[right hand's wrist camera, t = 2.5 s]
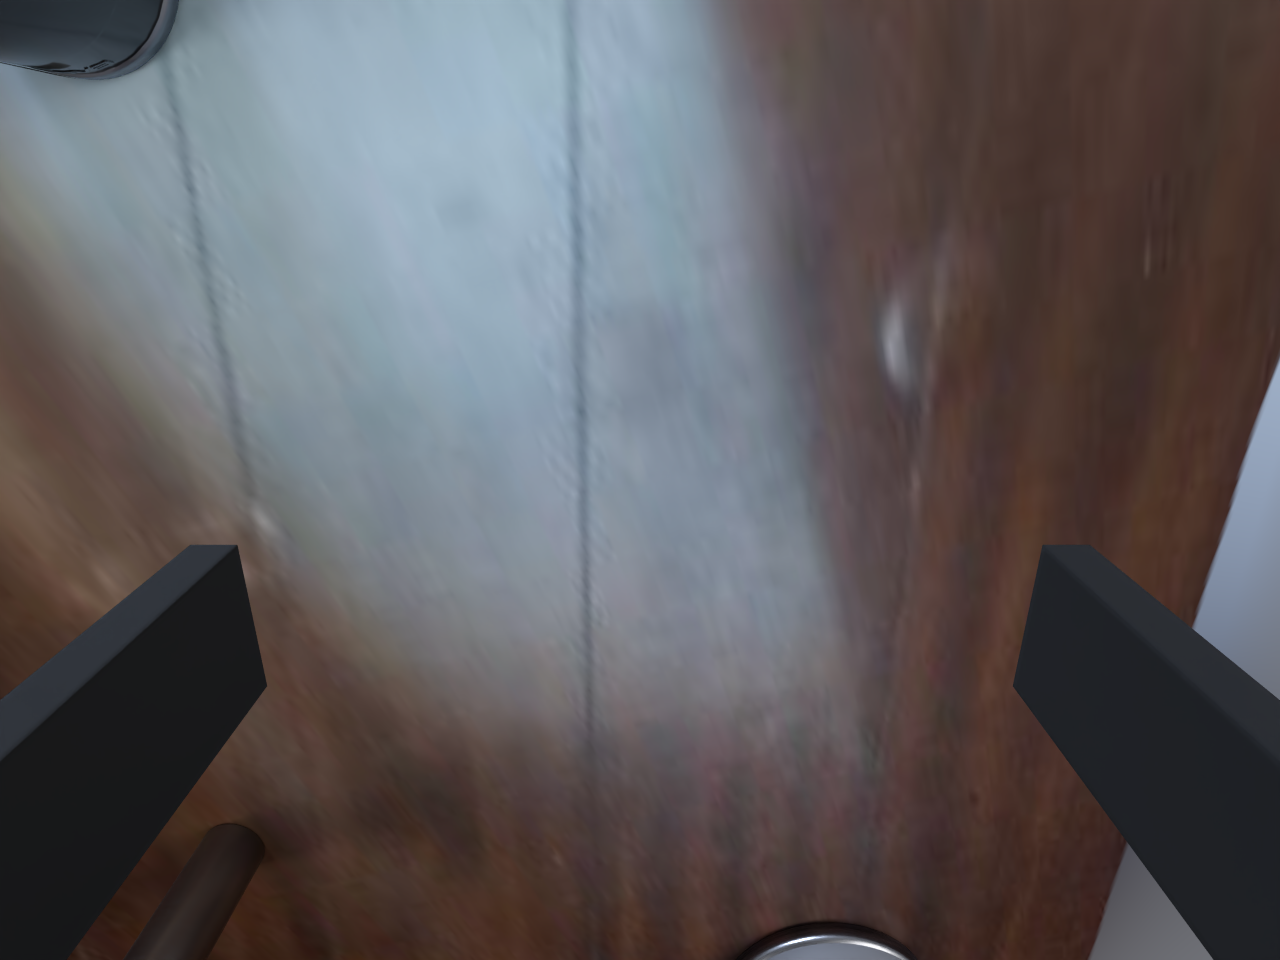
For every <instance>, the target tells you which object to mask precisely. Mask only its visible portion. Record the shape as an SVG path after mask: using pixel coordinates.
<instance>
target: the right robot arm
mask: <svg viewBox="0 0 1280 960" xmlns="http://www.w3.org/2000/svg"><path fill="white" fill-rule="evenodd" d="M266 687H267V683H266V678H265V674H264V669H263V664H262V659H261V655H260V650H259V645H258V641H257V636H256V631H255V626H254V622H253V617H252V612H251V607H250V603H249V598H248V593H247V588H246V584H245V579H244V574H243V569H242V565H241V560H240V555H239V550H238V546H237V545H190V546H188V547H187V548H186V549H185V550H184V551H182V552H181V553H180V554H179V555H177V556H176V557H175V558H174V559H173V560H171V561H170V562H169V563H168V564H166V565H165V566H164V567H163V568H162V569H160V570H159V571H158V572H157V573H155V574H154V575H153V576H152V577H151V578H149V579H148V580H147V581H146V582H144V583H143V584H142V585H141V586H139V587H138V588H137V589H136V590H135V591H133V592H132V593H131V594H130V595H128V596H127V597H126V598H125V599H124V600H122V601H121V602H120V603H119V604H117V605H116V606H115V607H114V608H113V609H111V610H110V611H109V612H108V613H106V614H105V615H104V616H103V617H102V618H100V619H99V620H98V621H97V622H95V623H94V624H93V625H92V626H91V627H89V628H88V629H87V630H86V631H84V632H83V633H82V634H81V635H80V636H78V637H77V638H76V639H75V640H73V641H72V642H71V643H70V644H69V645H67V646H66V647H65V648H64V649H62V650H61V651H60V652H59V653H57V654H56V655H55V656H54V657H53V658H51V659H50V660H49V661H48V662H46V663H45V664H44V665H43V666H42V667H40V668H39V669H38V670H37V671H35V672H34V673H33V674H32V675H31V676H29V677H28V678H27V679H26V680H24V681H23V682H22V683H21V684H20V685H18V686H17V687H16V688H15V689H13V690H12V691H11V692H10V693H9V694H7V695H6V696H5V697H4V698H2V699H1V700H0V960H67V958H68V957H69V955H70V954H71V953H72V951H73V950H74V949H75V947H76V946H77V945H78V943H79V942H80V940H81V939H82V938H83V936H84V935H85V934H86V932H87V931H88V930H89V928H90V927H91V925H92V924H93V923H94V921H95V920H96V919H97V917H98V916H99V915H100V913H101V912H102V910H103V909H104V908H105V906H106V905H107V904H108V902H109V901H110V900H111V898H112V897H113V895H114V894H115V893H116V891H117V890H118V889H119V887H120V886H121V885H122V883H123V882H124V880H125V879H126V878H127V876H128V875H129V874H130V872H131V871H132V870H133V868H134V867H135V865H136V864H137V863H138V861H139V860H140V859H141V857H142V856H143V855H144V853H145V852H146V850H147V849H148V848H149V846H150V845H151V844H152V842H153V841H154V840H155V838H156V837H157V835H158V834H159V833H160V831H161V830H162V829H163V827H164V826H165V825H166V823H167V822H168V820H169V819H170V818H171V816H172V815H173V814H174V812H175V811H176V810H177V808H178V807H179V805H180V804H181V803H182V801H183V800H184V799H185V797H186V796H187V795H188V793H189V792H190V790H191V789H192V788H193V786H194V785H195V784H196V782H197V781H198V780H199V778H200V777H201V775H202V774H203V773H204V771H205V770H206V769H207V767H208V766H209V765H210V763H211V762H212V760H213V759H214V758H215V756H216V755H217V754H218V752H219V751H220V750H221V748H222V747H223V745H224V744H225V743H226V741H227V740H228V739H229V737H230V736H231V735H232V733H233V732H234V730H235V729H236V728H237V726H238V725H239V724H240V722H241V721H242V720H243V718H244V717H245V715H246V714H247V713H248V711H249V710H250V709H251V707H252V706H253V705H254V703H255V702H256V700H257V699H258V698H259V696H260V695H261V694H262V692H263V691H264V690H265V688H266ZM1013 687H1014V688H1015V690H1016V691H1017V692H1018V694H1019V695H1020V696H1021V698H1022V699H1023V700H1024V702H1025V703H1026V705H1027V706H1028V707H1029V709H1030V710H1031V711H1032V713H1033V714H1034V715H1035V717H1036V718H1037V720H1038V721H1039V722H1040V724H1041V725H1042V726H1043V728H1044V729H1045V730H1046V732H1047V733H1048V735H1049V736H1050V737H1051V739H1052V740H1053V741H1054V743H1055V744H1056V745H1057V747H1058V748H1059V750H1060V751H1061V752H1062V754H1063V755H1064V756H1065V758H1066V759H1067V760H1068V762H1069V763H1070V765H1071V766H1072V767H1073V769H1074V770H1075V771H1076V773H1077V774H1078V775H1079V777H1080V778H1081V780H1082V781H1083V782H1084V784H1085V785H1086V786H1087V788H1088V789H1089V790H1090V792H1091V793H1092V795H1093V796H1094V797H1095V799H1096V800H1097V801H1098V803H1099V804H1100V805H1101V807H1102V808H1103V810H1104V811H1105V812H1106V814H1107V815H1108V816H1109V818H1110V819H1111V820H1112V822H1113V823H1114V825H1115V826H1116V827H1117V829H1118V830H1119V831H1120V833H1121V834H1122V835H1123V837H1124V838H1125V840H1126V841H1127V842H1128V844H1129V845H1130V846H1131V848H1132V849H1133V850H1134V852H1135V853H1136V855H1137V856H1138V857H1139V859H1140V860H1141V861H1142V863H1143V864H1144V865H1145V867H1146V868H1147V870H1148V871H1149V872H1150V874H1151V875H1152V876H1153V878H1154V879H1155V880H1156V882H1157V883H1158V884H1159V886H1160V887H1161V889H1162V890H1163V891H1164V893H1165V894H1166V895H1167V897H1168V898H1169V900H1170V901H1171V902H1172V904H1173V905H1174V906H1175V908H1176V909H1177V910H1178V912H1179V913H1180V915H1181V916H1182V917H1183V919H1184V920H1185V921H1186V923H1187V924H1188V925H1189V927H1190V928H1191V930H1192V931H1193V932H1194V933H1195V935H1196V936H1197V938H1198V939H1199V940H1200V942H1201V943H1202V945H1203V946H1204V947H1205V949H1206V950H1207V951H1208V953H1209V954H1210V955H1211V957H1212V958H1213V960H1280V700H1279V699H1278V698H1276V697H1275V696H1274V695H1273V694H1271V693H1270V692H1269V691H1268V690H1267V689H1265V688H1264V687H1263V686H1262V685H1260V684H1259V683H1258V682H1257V681H1255V680H1254V679H1253V678H1252V677H1251V676H1249V675H1248V674H1247V673H1246V672H1245V671H1243V670H1242V669H1241V668H1240V667H1238V666H1237V665H1236V664H1235V663H1234V662H1232V661H1231V660H1230V659H1229V658H1227V657H1226V656H1225V655H1224V654H1223V653H1221V652H1220V651H1219V650H1218V649H1216V648H1215V647H1214V646H1213V645H1211V644H1210V643H1209V642H1208V641H1207V640H1205V639H1204V638H1203V637H1202V636H1200V635H1199V634H1198V633H1197V632H1196V631H1194V630H1193V629H1192V628H1191V627H1189V626H1188V625H1187V624H1186V623H1185V622H1183V621H1182V620H1181V619H1180V618H1178V617H1177V616H1176V615H1175V614H1174V613H1172V612H1171V611H1170V610H1169V609H1167V608H1166V607H1165V606H1164V605H1163V604H1161V603H1160V602H1159V601H1158V600H1156V599H1155V598H1154V597H1153V596H1152V595H1150V594H1149V593H1148V592H1147V591H1145V590H1144V589H1143V588H1142V587H1141V586H1139V585H1138V584H1137V583H1136V582H1134V581H1133V580H1132V579H1131V578H1129V577H1128V576H1127V575H1126V574H1125V573H1123V572H1122V571H1121V570H1120V569H1118V568H1117V567H1116V566H1115V565H1114V564H1112V563H1111V562H1110V561H1109V560H1107V559H1106V558H1105V557H1104V556H1103V555H1101V554H1100V553H1099V552H1098V551H1096V550H1095V549H1094V548H1093V547H1092V546H1090V545H1043V546H1042V550H1041V555H1040V560H1039V565H1038V569H1037V574H1036V579H1035V584H1034V588H1033V593H1032V598H1031V603H1030V607H1029V612H1028V617H1027V622H1026V626H1025V631H1024V636H1023V641H1022V645H1021V650H1020V655H1019V659H1018V664H1017V669H1016V674H1015V678H1014V683H1013ZM736 960H917V958H916V957H915V956H914V955H913V953H912V952H911V951H910V950H909V949H908V948H907V947H905V946H904V945H903V944H901V943H900V942H899V941H897V940H896V939H894V938H892V937H890V936H888V935H886V934H884V933H882V932H879V931H877V930H874V929H871V928H867V927H863V926H858V925H853V924H844V923H819V924H809V925H804V926H798V927H794V928H791V929H787V930H784V931H781V932H778V933H776V934H773V935H771V936H769V937H767V938H765V939H763V940H761V941H759V942H757V943H756V944H754V945H753V946H751V947H750V948H748V949H747V950H746V951H744V952H743V953H742V954H741V955H740V956H739V957H738V958H737V959H736Z"/></svg>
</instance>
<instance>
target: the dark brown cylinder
mask: <svg viewBox="0 0 1280 960" xmlns="http://www.w3.org/2000/svg"><path fill="white" fill-rule="evenodd" d="M264 852H265V849H264V845H263V842H262V840H261V839H260V838H259V836H258V835H257V834H255V833H254V832H253V831H251V830H250V829H248V828H246V827H243V826H240V825H236V824H223V825H218V826H216V827H214V828H212V829H211V830H209V831H208V832H207V834H206V835H205V837H204V838H203V840H202V841H201V843H200V844H199V846H198V847H197V849H196V850H195V852H194V853H193V855H192V856H191V858H190V859H189V861H188V862H187V864H186V865H185V867H184V868H183V870H182V871H181V873H180V874H179V876H178V877H177V879H176V880H175V882H174V883H173V885H172V887H171V888H170V890H169V891H168V893H167V894H166V896H165V897H164V899H163V900H162V902H161V903H160V905H159V906H158V908H157V909H156V911H155V912H154V914H153V915H152V917H151V918H150V920H149V921H148V923H147V924H146V926H145V927H144V929H143V930H142V932H141V933H140V935H139V936H138V938H137V939H136V941H135V943H134V944H133V946H132V947H131V949H130V950H129V952H128V953H127V955H126V956H125V958H124V959H123V960H207V958H208V957H209V955H210V953H211V951H212V949H213V948H214V946H215V944H216V942H217V940H218V939H219V937H220V935H221V933H222V931H223V930H224V928H225V926H226V924H227V922H228V921H229V919H230V917H231V915H232V913H233V911H234V910H235V908H236V906H237V904H238V902H239V901H240V899H241V897H242V895H243V893H244V892H245V890H246V888H247V886H248V884H249V883H250V881H251V879H252V877H253V875H254V874H255V872H256V870H257V868H258V866H259V865H260V863H261V861H262V859H263V857H264Z"/></svg>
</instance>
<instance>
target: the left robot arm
mask: <svg viewBox="0 0 1280 960" xmlns="http://www.w3.org/2000/svg"><path fill="white" fill-rule="evenodd" d="M178 2H179V0H0V63H2V62H5V63H3V64H7V63H11V64H17V65H22V66H28V67H31V68H35V69H39V70H44V71H48V72H52V73H49V74H53V73H55V74H54V75H57V74H59V75H58V76H62V75H64V77H66V76H69V78H71V77H75V78H81V79H96V80H101V79H110V78H114V77H119V76H122V75H125V74H127V73H130V72H132V71H134V70H136V69H138V68H139V67H141V66H142V65H144V64H145V63H146V62H147V61H149V60H150V59H151V58H152V57H153V56H154V55H155V54H156V53H157V51H158V50H159V49H160V48H161V46H162V45H163V43H164V42H165V40H166V38H167V36H168V35H169V33H170V31H171V28H172V25H173V23H174V20H175V16H176V13H177V8H178ZM11 64H8V65H11ZM12 66H16V65H12ZM17 67H21V66H17ZM22 68H25V67H22ZM26 69H30V68H26ZM31 70H34V69H31ZM39 70H35V71H39ZM40 72H43V71H40ZM48 72H44V73H48Z"/></svg>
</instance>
